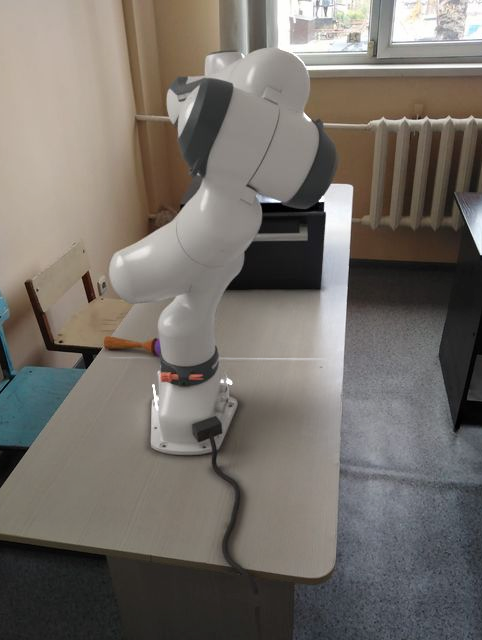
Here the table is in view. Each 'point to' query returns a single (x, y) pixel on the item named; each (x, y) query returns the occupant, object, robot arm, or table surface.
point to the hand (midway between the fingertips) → (231, 199)
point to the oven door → (284, 253)
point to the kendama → (133, 344)
